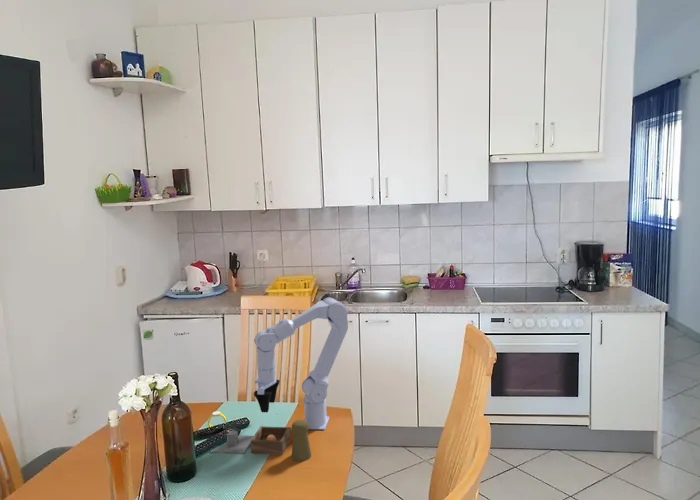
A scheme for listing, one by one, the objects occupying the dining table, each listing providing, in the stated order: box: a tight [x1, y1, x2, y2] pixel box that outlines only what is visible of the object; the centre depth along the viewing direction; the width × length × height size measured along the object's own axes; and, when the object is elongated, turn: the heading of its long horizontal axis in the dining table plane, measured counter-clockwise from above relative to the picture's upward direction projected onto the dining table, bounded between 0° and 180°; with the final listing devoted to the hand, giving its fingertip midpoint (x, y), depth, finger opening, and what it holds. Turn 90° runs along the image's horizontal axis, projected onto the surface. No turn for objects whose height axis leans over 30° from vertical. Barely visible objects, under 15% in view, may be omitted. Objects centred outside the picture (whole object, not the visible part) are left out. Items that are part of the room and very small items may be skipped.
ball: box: [266, 435, 276, 441], centre depth 168 cm, size 3×3×3 cm
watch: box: [207, 410, 227, 427], centre depth 181 cm, size 6×3×6 cm, turn 98°
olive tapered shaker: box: [291, 419, 312, 462], centre depth 161 cm, size 6×6×11 cm
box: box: [250, 425, 292, 456], centre depth 168 cm, size 10×10×4 cm
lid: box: [211, 430, 254, 455], centre depth 170 cm, size 11×11×4 cm
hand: (268, 406), depth 175 cm, fingers open, 7 cm apart
